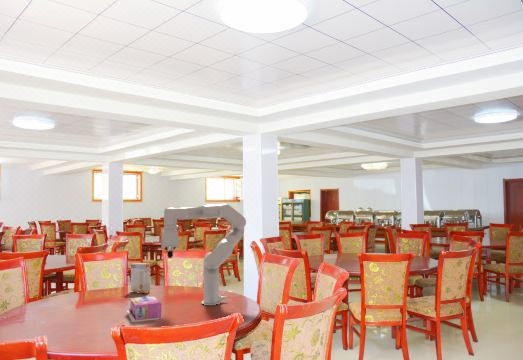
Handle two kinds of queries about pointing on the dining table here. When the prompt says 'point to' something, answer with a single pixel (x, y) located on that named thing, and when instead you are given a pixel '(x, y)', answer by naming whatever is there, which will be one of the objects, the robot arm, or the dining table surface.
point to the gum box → (145, 307)
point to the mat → (139, 320)
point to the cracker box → (140, 277)
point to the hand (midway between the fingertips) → (170, 257)
